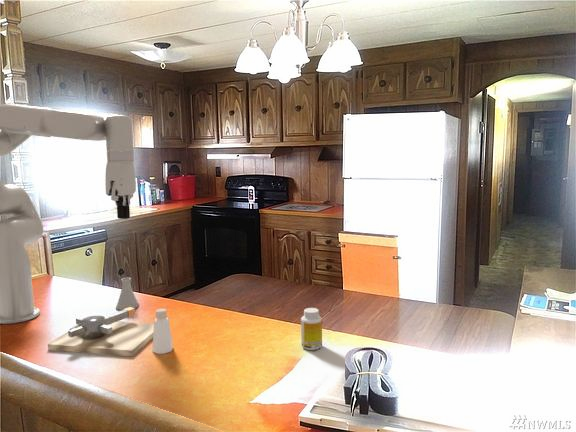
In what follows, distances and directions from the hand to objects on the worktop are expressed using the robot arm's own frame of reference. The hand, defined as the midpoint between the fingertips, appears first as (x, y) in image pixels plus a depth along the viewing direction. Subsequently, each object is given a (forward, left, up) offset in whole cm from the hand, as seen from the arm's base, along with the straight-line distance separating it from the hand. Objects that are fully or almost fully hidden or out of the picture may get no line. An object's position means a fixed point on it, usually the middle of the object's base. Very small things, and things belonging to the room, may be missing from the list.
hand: (123, 218), depth 136 cm
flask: (-6, +10, -32) cm, 34 cm away
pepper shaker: (+20, -19, -32) cm, 42 cm away
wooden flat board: (+2, -15, -32) cm, 35 cm away
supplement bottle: (+59, -11, -32) cm, 68 cm away
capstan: (0, -14, -30) cm, 33 cm away
